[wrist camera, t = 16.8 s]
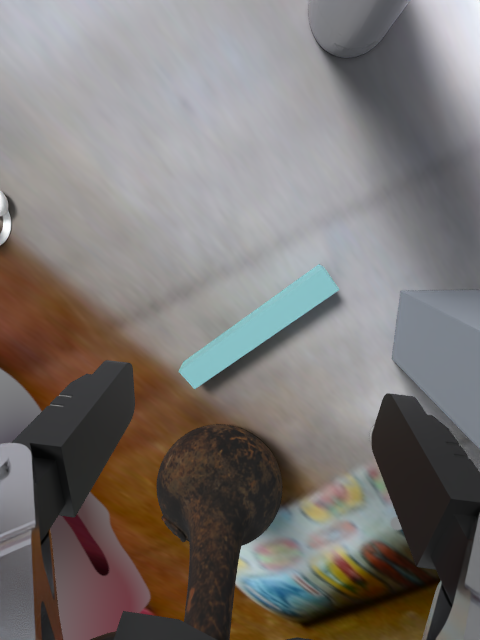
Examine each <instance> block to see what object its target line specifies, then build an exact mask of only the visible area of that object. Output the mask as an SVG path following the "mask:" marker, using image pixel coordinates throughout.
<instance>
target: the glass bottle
mask: <svg viewBox="0 0 480 640" xmlns="http://www.w3.org/2000/svg"><path fill="white" fill-rule="evenodd" d="M157 497H158V501H159V505H160V508H161V511H162V513H163V516H162V520H163V521H164V522H165V524H166V526H167V527H168V528H169V529H170V530H171V531H172V532H173V534H174V535H176V536H178V537H179V538H180V539H181V541H182V542H185V541H186V540H187V541H189V542H190V566H189V579H188V592H187V600H186V609H185V619H184V623H186V624H188V625H190V626H192V627H194V628H196V629H198V630H199V631H201V632H203V633H205V634H207V635H209V636H211V637H213V638H215V639H216V640H229V638H230V627H231V616H232V608H233V598H234V588H235V581H236V573H237V566H238V559H239V554H240V549H241V546H242V545H245V544H247V543H249V542H251V541H253V540H255V539H256V538H257V537H259V536H260V535H261V534H262V533H263V532H264V531H265V530H266V529H267V528H268V527H269V526H270V524H271V523H272V522H273V520H274V518H275V516H276V514H277V512H278V509H279V506H280V503H281V498H282V478H281V473H280V470H279V467H278V464H277V462H276V460H275V458H274V456H273V454H272V453H271V451H270V450H269V449H268V447H267V446H266V445H265V444H264V443H263V442H262V441H261V440H260V439H258V438H257V437H256V436H254V435H253V434H251V433H249V432H248V431H246V430H244V429H241V428H238V427H235V426H231V425H221V424H216V425H208V426H203V427H200V428H197V429H195V430H192V431H191V432H189V433H187V434H185V435H184V436H183V437H181V438H180V439H179V440H178V441H177V442H176V443H175V444H174V445H173V446H172V447H171V448H170V449H169V451H168V452H167V454H166V455H165V457H164V459H163V461H162V463H161V466H160V469H159V473H158V477H157Z"/></svg>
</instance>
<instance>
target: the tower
mask: <svg viewBox="0 0 480 640" xmlns="http://www.w3.org/2000/svg"><path fill="white" fill-rule="evenodd" d="M392 359H393V360H394V362H395V363H396V364H397V365H398V366H399V367H400V368H401V369H402V370H403V371H404V372H405V373H406V374H407V375H408V376H409V377H410V378H411V379H412V380H413V381H414V382H415V383H416V384H417V385H418V386H419V387H420V388H421V389H422V390H423V391H424V392H425V393H426V394H427V396H428V397H429V398H430V399H431V400H432V401H433V402H434V403H435V404H436V405H437V406H438V407H439V408H440V409H441V410H442V411H443V412H444V413H445V414H446V415H447V416H448V417H449V418H450V419H451V420H452V421H453V422H454V423H455V424H456V425H457V426H458V427H459V429H460V430H461V431H462V432H463V433H464V434H465V435H466V436H467V437H468V438H469V439H470V440H471V441H472V442H473V443H474V444H475V445H476V446H477V447H478V448H479V449H480V290H423V291H401V292H400V300H399V307H398V315H397V322H396V330H395V338H394V345H393V353H392Z"/></svg>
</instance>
